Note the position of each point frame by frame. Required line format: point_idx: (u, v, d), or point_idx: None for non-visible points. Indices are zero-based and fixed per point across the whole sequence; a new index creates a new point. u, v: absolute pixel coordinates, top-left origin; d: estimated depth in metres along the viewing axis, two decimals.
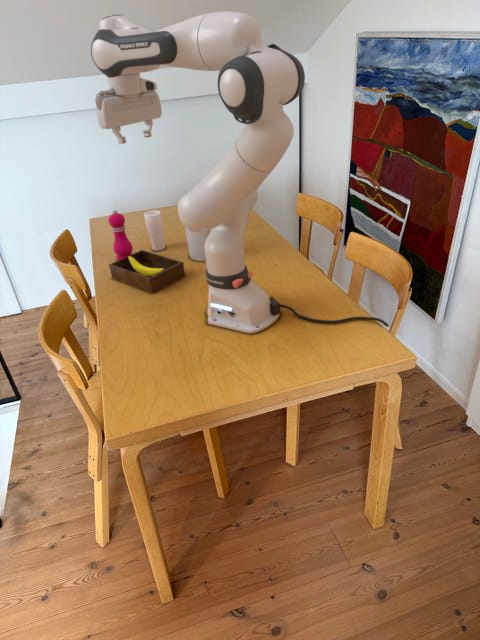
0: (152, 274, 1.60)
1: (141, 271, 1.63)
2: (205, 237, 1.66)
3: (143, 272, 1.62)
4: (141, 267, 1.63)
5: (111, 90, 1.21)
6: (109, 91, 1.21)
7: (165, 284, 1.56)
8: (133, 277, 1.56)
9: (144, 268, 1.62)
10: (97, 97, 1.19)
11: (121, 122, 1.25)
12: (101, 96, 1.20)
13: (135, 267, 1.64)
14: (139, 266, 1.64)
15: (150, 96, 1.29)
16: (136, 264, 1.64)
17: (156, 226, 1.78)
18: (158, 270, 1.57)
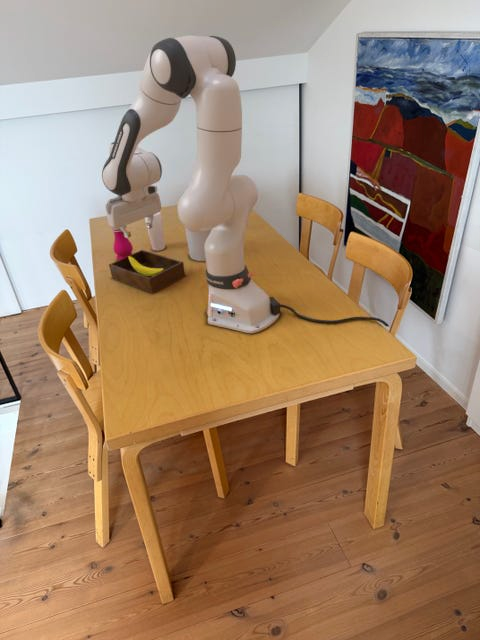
0: (152, 274, 1.60)
1: (141, 271, 1.63)
2: (205, 237, 1.66)
3: (143, 272, 1.62)
4: (141, 267, 1.63)
5: (119, 197, 1.45)
6: (117, 198, 1.44)
7: (165, 284, 1.56)
8: (133, 277, 1.56)
9: (144, 268, 1.62)
10: (107, 205, 1.42)
11: (127, 222, 1.48)
12: (111, 203, 1.43)
13: (135, 267, 1.64)
14: (139, 266, 1.64)
15: (151, 197, 1.52)
16: (136, 264, 1.64)
17: (156, 226, 1.78)
18: (158, 270, 1.57)
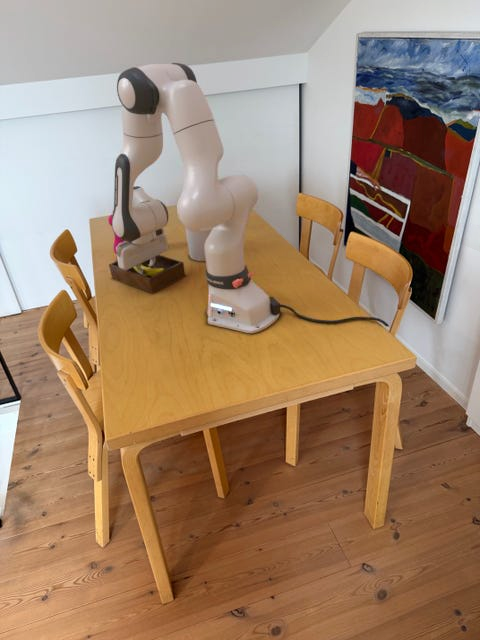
0: (152, 274, 1.60)
1: None
2: (205, 237, 1.66)
3: None
4: (141, 267, 1.63)
5: None
6: (127, 242, 1.52)
7: (165, 284, 1.56)
8: (133, 277, 1.56)
9: (144, 268, 1.62)
10: (117, 248, 1.50)
11: (136, 263, 1.56)
12: (121, 247, 1.51)
13: (135, 267, 1.64)
14: None
15: (159, 238, 1.60)
16: None
17: None
18: (158, 270, 1.57)
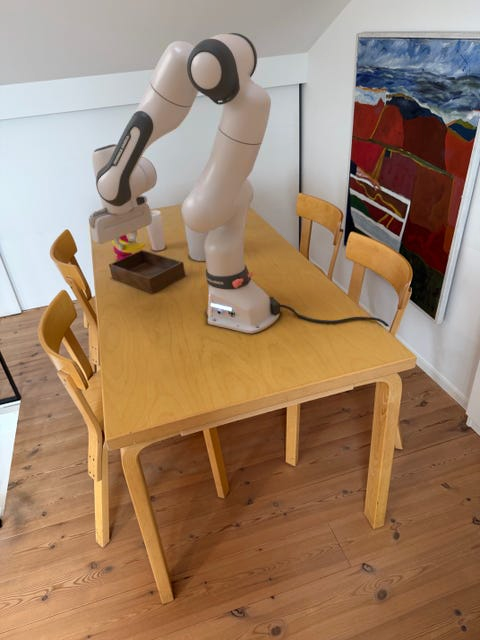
0: (132, 250, 1.38)
1: None
2: (205, 237, 1.66)
3: None
4: (121, 242, 1.41)
5: (104, 209, 1.30)
6: (102, 211, 1.30)
7: (165, 284, 1.56)
8: (133, 277, 1.56)
9: (124, 243, 1.40)
10: (91, 218, 1.28)
11: (113, 236, 1.34)
12: (94, 216, 1.29)
13: None
14: None
15: (141, 208, 1.38)
16: None
17: (156, 226, 1.78)
18: (139, 245, 1.35)
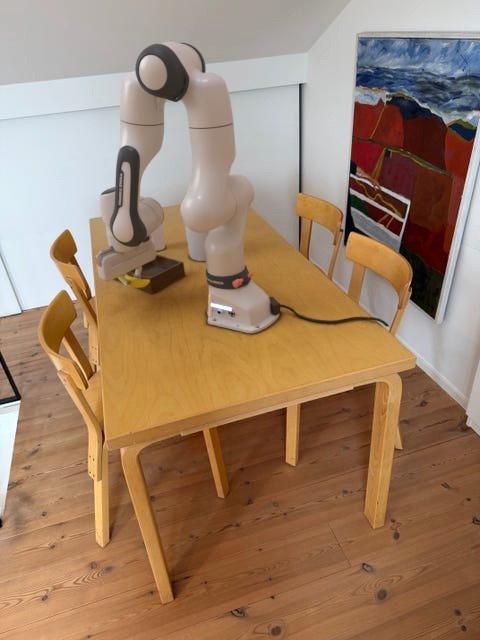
0: (137, 286, 1.42)
1: None
2: (205, 237, 1.66)
3: None
4: (126, 277, 1.45)
5: (110, 248, 1.35)
6: (108, 249, 1.34)
7: (165, 284, 1.56)
8: None
9: (129, 278, 1.44)
10: (98, 257, 1.32)
11: (119, 273, 1.38)
12: (101, 255, 1.33)
13: None
14: None
15: (146, 245, 1.42)
16: None
17: None
18: (144, 281, 1.39)
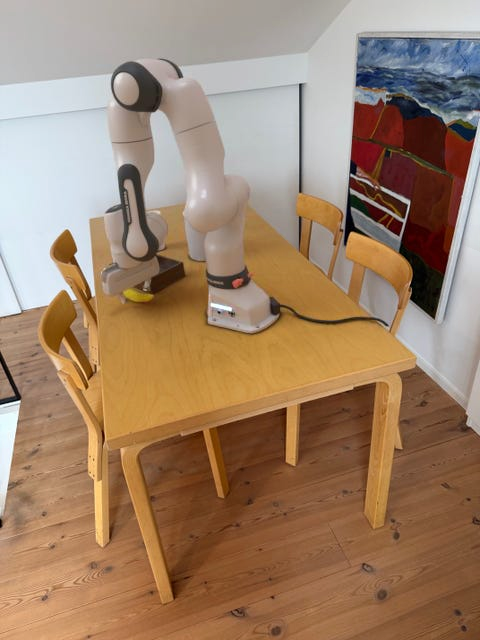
0: (141, 300, 1.45)
1: (129, 296, 1.48)
2: (205, 237, 1.66)
3: (131, 297, 1.47)
4: (129, 291, 1.48)
5: (114, 264, 1.37)
6: (113, 266, 1.37)
7: (165, 284, 1.56)
8: None
9: (133, 293, 1.47)
10: (102, 273, 1.35)
11: (123, 289, 1.41)
12: (106, 272, 1.36)
13: None
14: (127, 290, 1.49)
15: (149, 260, 1.45)
16: None
17: None
18: (147, 296, 1.42)
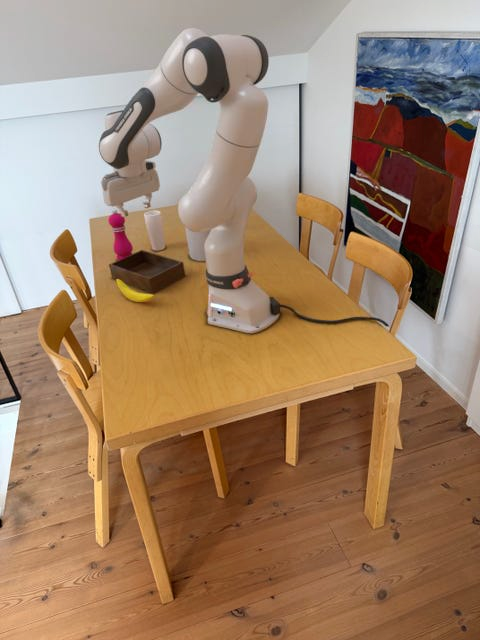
0: (141, 300, 1.45)
1: (129, 296, 1.48)
2: (205, 237, 1.66)
3: (131, 297, 1.47)
4: (129, 291, 1.48)
5: (115, 173, 1.37)
6: (113, 174, 1.36)
7: (165, 284, 1.56)
8: (133, 277, 1.56)
9: (133, 293, 1.47)
10: (103, 180, 1.34)
11: (124, 199, 1.40)
12: (106, 179, 1.35)
13: (123, 291, 1.50)
14: (127, 290, 1.49)
15: (149, 174, 1.44)
16: (124, 288, 1.50)
17: (156, 226, 1.78)
18: (147, 296, 1.42)
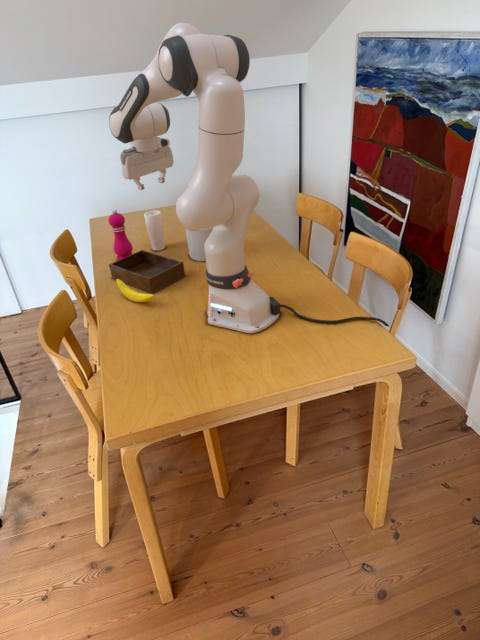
0: (141, 300, 1.45)
1: (129, 296, 1.48)
2: (205, 237, 1.66)
3: (131, 297, 1.47)
4: (129, 291, 1.48)
5: (133, 148, 1.48)
6: (131, 149, 1.48)
7: (165, 284, 1.56)
8: (133, 277, 1.56)
9: (133, 293, 1.47)
10: (122, 155, 1.46)
11: (141, 173, 1.52)
12: (125, 154, 1.47)
13: (123, 291, 1.50)
14: (127, 290, 1.49)
15: (164, 150, 1.56)
16: (124, 288, 1.50)
17: (156, 226, 1.78)
18: (147, 296, 1.42)
